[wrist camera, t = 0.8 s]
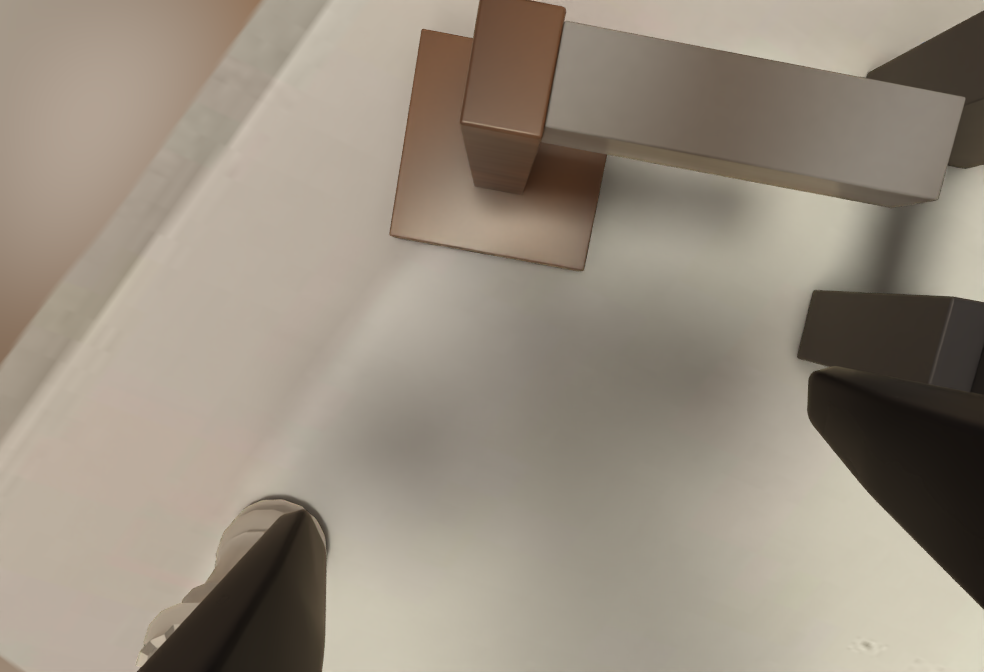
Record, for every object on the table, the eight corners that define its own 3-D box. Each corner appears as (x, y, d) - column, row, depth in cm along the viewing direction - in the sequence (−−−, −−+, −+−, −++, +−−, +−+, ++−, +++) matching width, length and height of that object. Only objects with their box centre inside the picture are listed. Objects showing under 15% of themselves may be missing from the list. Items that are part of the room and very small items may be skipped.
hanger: (772, 107, 22) (1002, -32, 12) (727, 298, 23) (907, 317, 13) (425, 41, 22) (367, -156, 12) (394, 237, 23) (316, 207, 13)
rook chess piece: (348, 526, 24) (276, 650, 16) (299, 605, 25) (205, 763, 17) (261, 476, 24) (145, 576, 16) (214, 555, 24) (77, 693, 16)
